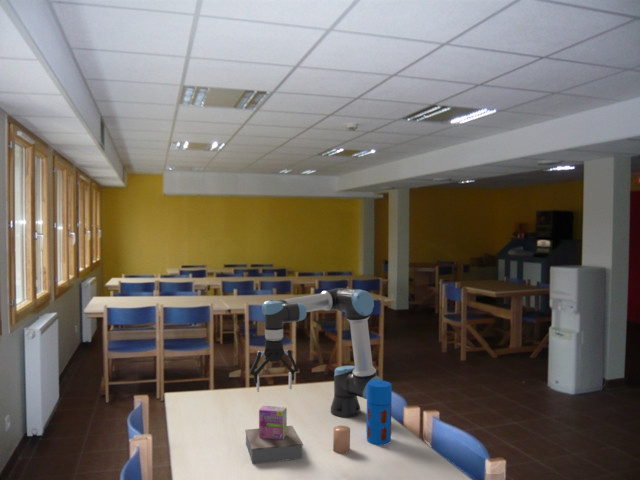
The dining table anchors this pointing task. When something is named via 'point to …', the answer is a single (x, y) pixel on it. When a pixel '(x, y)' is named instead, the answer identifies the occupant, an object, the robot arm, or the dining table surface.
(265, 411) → the box
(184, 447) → the dining table surface
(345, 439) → the tan rounded cylinder
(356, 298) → the robot arm
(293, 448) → the podium
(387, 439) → the thermos
